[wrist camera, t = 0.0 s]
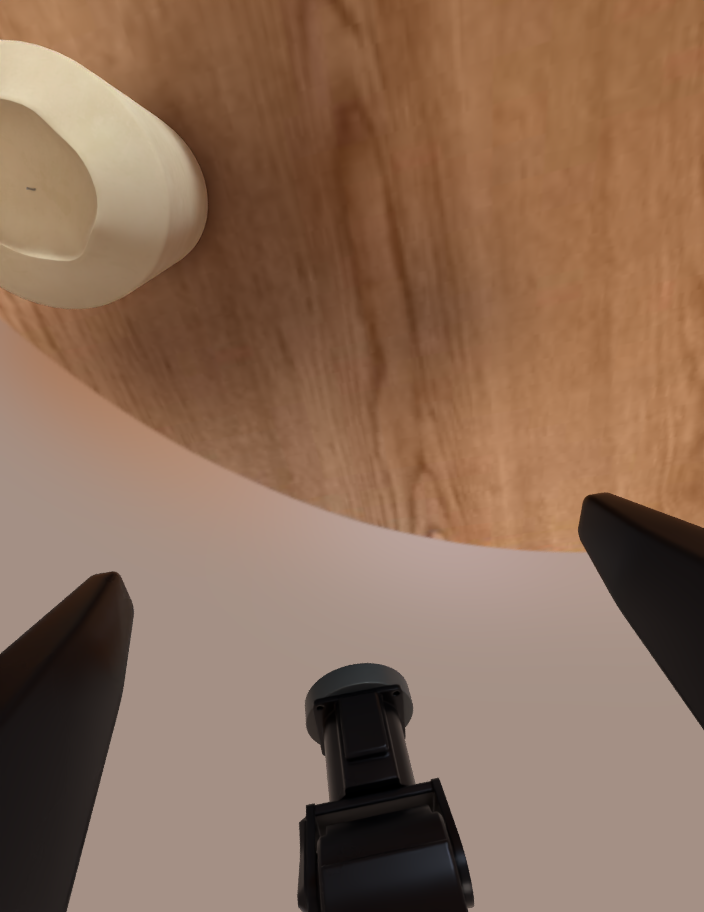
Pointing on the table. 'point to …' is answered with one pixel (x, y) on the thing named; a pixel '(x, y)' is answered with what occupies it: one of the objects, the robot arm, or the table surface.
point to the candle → (87, 185)
